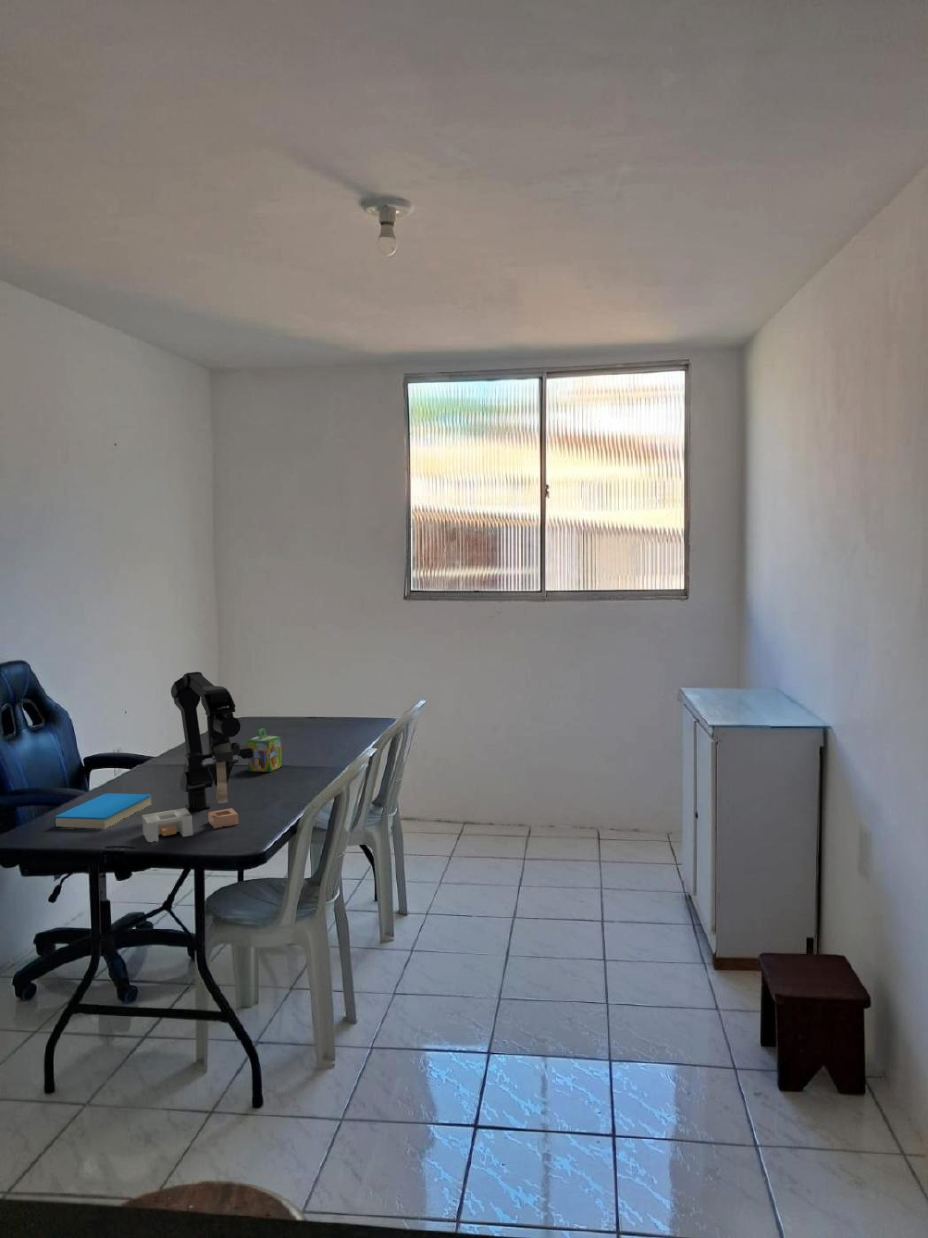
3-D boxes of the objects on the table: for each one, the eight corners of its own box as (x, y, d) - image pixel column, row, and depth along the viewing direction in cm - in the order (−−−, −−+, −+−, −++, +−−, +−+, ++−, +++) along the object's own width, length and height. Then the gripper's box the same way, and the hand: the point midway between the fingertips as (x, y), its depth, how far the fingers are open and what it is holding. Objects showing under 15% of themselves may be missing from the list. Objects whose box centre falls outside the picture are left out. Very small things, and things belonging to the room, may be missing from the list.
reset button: (160, 832, 257) (160, 827, 257) (173, 830, 258) (173, 825, 258) (163, 836, 254) (162, 830, 253) (176, 833, 255) (176, 828, 255)
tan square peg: (216, 801, 266) (214, 761, 265) (225, 800, 267) (223, 759, 266) (218, 803, 264) (216, 762, 263) (227, 802, 265) (225, 761, 264)
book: (152, 794, 288) (105, 816, 264) (152, 807, 289) (106, 831, 264) (103, 793, 292) (53, 815, 267) (104, 806, 292) (54, 829, 268)
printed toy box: (270, 773, 325) (267, 732, 324) (247, 771, 328) (245, 731, 327) (283, 766, 334) (281, 726, 332) (261, 765, 337) (259, 726, 335)
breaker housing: (143, 834, 258) (141, 815, 258) (186, 827, 264) (185, 808, 263) (148, 843, 250) (147, 823, 249) (193, 835, 255) (192, 816, 255)
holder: (208, 822, 268) (208, 812, 267) (232, 818, 271) (231, 808, 271) (214, 828, 261) (213, 818, 261) (238, 824, 265) (237, 814, 264)
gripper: (190, 741, 253) (194, 796, 254) (257, 732, 261) (260, 786, 263) (182, 734, 262) (186, 787, 264) (247, 726, 271) (250, 777, 272)
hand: (221, 784), depth 265 cm, fingers closed on tan square peg, 3 cm apart
